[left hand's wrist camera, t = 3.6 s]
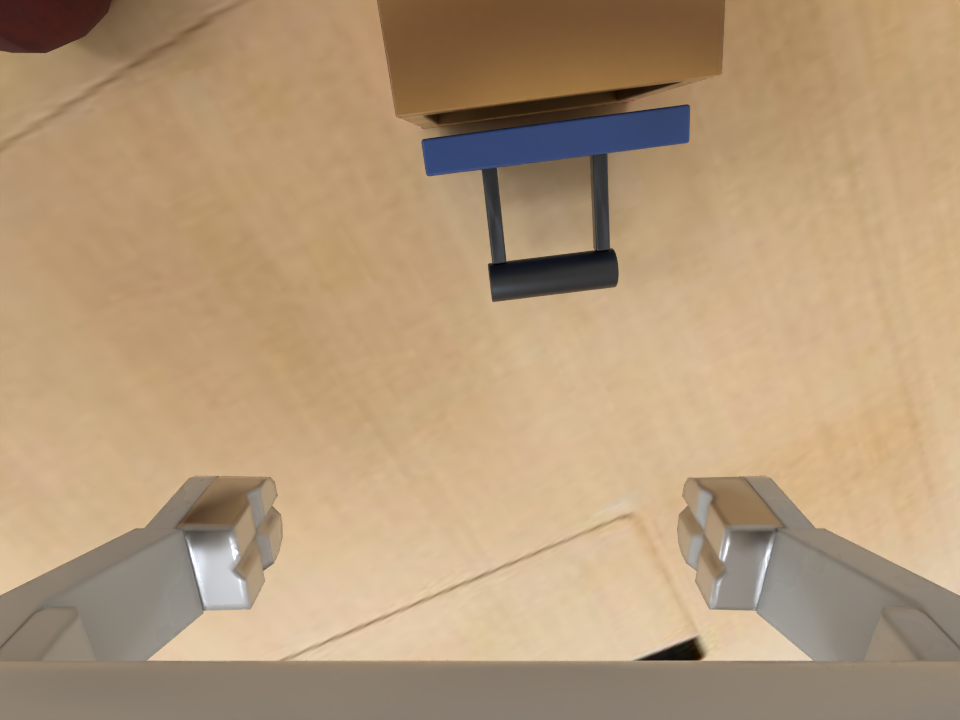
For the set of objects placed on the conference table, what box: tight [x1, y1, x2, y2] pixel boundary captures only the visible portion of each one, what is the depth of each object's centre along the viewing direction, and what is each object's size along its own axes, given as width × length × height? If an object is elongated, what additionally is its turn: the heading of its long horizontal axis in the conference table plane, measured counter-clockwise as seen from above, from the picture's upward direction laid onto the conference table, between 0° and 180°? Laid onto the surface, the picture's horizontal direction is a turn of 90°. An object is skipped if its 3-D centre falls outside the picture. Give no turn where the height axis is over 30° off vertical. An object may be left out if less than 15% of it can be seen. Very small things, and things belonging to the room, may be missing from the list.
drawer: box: [422, 105, 690, 302], centre depth 21 cm, size 19×9×8 cm, turn 7°
